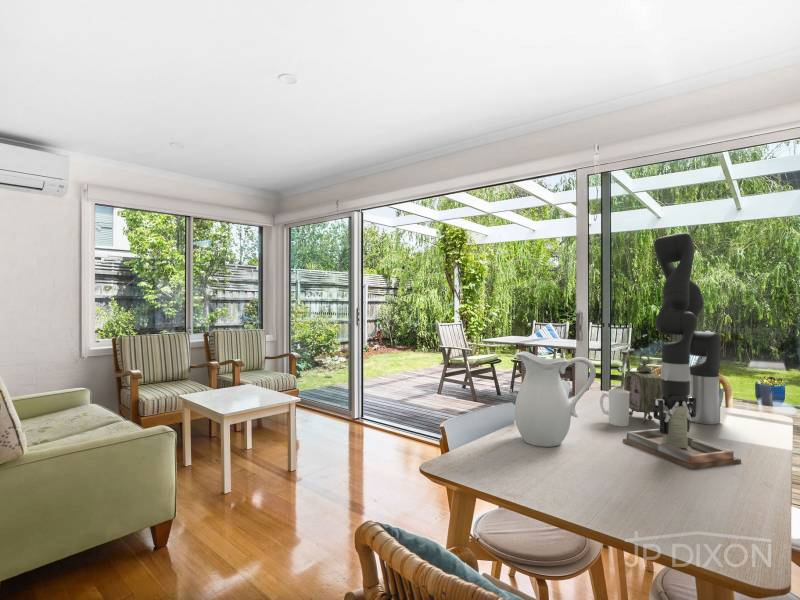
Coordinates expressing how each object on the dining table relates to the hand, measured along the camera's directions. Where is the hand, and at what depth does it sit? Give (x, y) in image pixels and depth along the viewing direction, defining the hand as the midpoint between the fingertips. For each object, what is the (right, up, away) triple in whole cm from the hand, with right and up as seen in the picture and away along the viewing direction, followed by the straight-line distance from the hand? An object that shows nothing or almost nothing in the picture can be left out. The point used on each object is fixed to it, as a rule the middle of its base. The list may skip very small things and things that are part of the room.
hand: (674, 432), depth 136 cm
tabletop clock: (+10, -5, +34) cm, 36 cm away
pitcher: (-34, -5, +6) cm, 35 cm away
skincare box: (0, -4, 0) cm, 4 cm away
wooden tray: (0, -5, -1) cm, 5 cm away
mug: (-4, -5, +29) cm, 30 cm away
